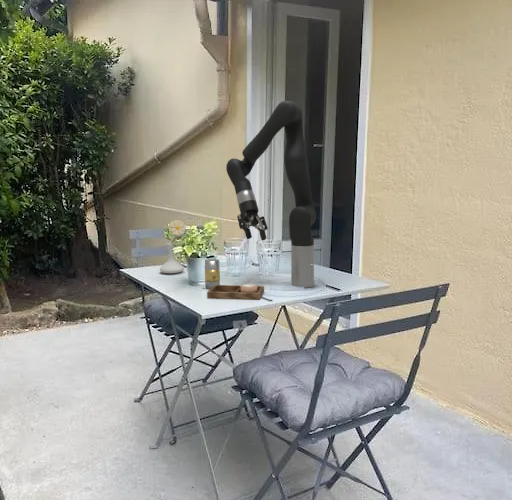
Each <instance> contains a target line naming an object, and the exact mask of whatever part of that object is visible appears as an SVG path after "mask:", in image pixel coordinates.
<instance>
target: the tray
mask: <svg viewBox="0 0 512 500" xmlns="http://www.w3.org/2000/svg"><path fill="white" fill-rule="evenodd" d="M264 293H265V286H264V285H257V293H242V292H241V285H231V284H230V285H229V284H227V285H226V284H220V285H214V286H213V287H212V288H211V289H210V290H209V289H208V291H207V292H206V297H207V299H208V300H210V299H211V300H213V299H214V300H215V299H216V300H243V301H245V300H247V301H260V300H261V298H262V296H263V294H264Z"/></svg>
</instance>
